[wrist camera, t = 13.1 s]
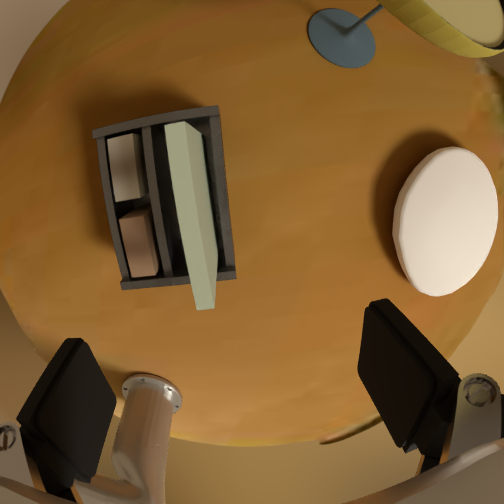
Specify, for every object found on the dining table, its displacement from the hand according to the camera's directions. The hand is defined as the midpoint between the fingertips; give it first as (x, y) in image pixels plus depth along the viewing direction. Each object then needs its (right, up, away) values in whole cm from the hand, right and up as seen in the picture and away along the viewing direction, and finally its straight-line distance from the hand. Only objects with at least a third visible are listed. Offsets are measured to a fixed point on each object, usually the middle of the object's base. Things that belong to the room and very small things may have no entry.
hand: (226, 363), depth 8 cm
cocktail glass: (+14, +35, +22) cm, 44 cm away
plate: (+36, +9, +34) cm, 50 cm away
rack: (-9, +12, +29) cm, 32 cm away
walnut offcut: (-13, +7, +29) cm, 32 cm away
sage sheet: (-5, +12, +28) cm, 31 cm away
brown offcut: (-13, +15, +26) cm, 33 cm away
